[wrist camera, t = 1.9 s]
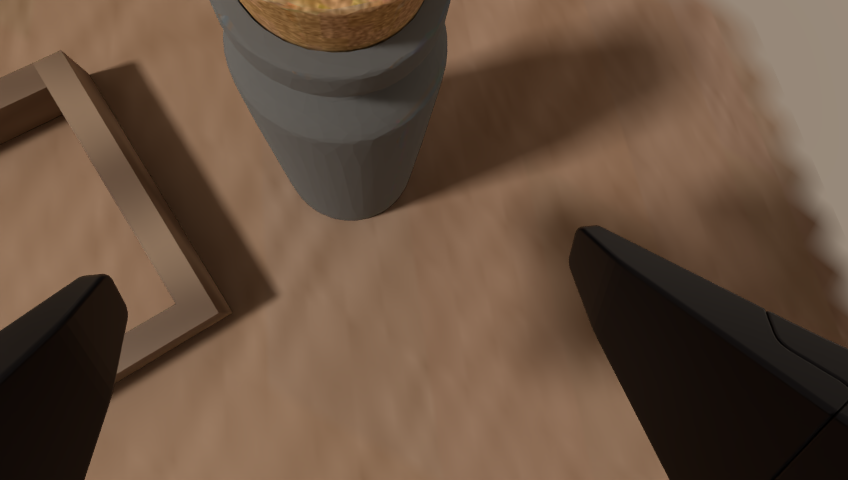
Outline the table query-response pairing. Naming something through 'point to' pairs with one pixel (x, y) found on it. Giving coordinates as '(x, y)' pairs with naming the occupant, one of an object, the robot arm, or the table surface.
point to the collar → (119, 199)
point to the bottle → (339, 91)
